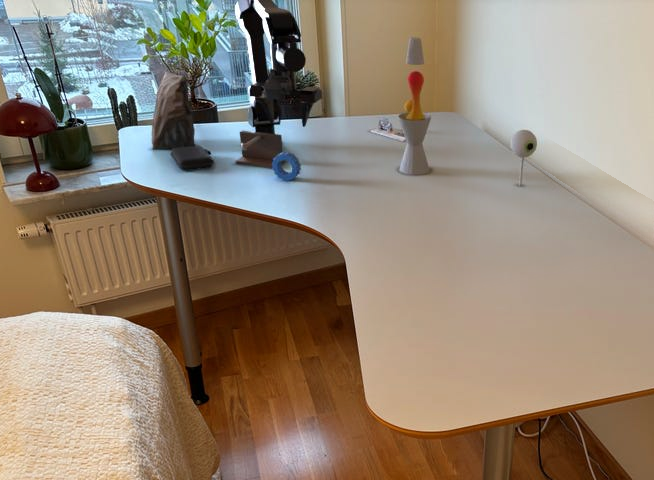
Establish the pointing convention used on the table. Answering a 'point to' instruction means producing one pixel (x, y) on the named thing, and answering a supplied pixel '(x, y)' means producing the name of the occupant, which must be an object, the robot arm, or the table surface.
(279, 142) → the hook
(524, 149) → the eyeball on stand
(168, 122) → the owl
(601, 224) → the table surface
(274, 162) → the tape roll
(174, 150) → the carrying case
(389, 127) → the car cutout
